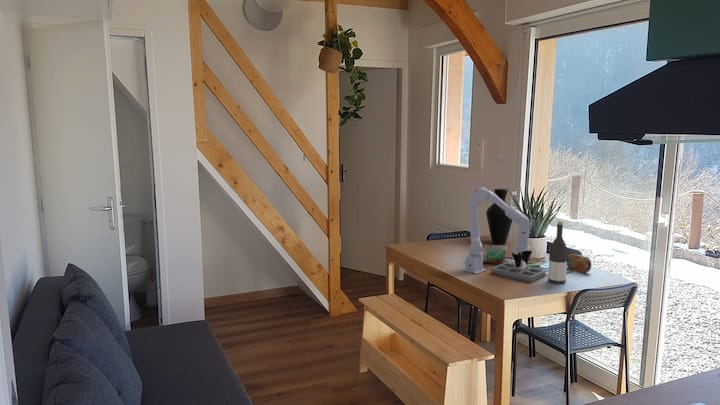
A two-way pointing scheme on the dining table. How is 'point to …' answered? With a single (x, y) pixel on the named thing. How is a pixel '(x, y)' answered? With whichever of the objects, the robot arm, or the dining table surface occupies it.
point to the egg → (522, 265)
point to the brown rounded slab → (578, 263)
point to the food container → (495, 254)
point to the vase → (498, 220)
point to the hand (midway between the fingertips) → (521, 265)
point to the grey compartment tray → (518, 272)
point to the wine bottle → (558, 258)
